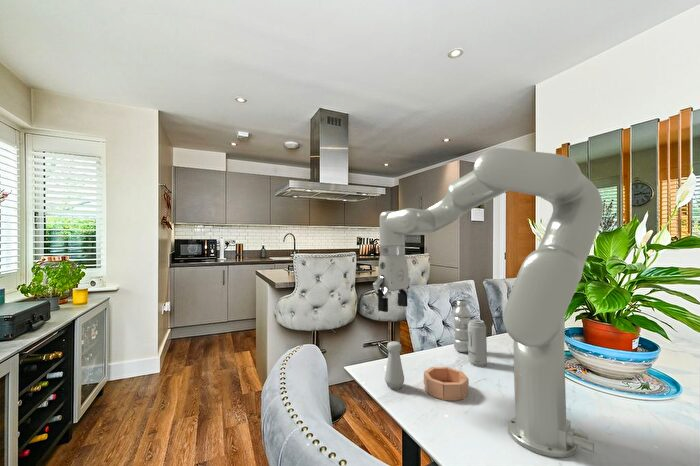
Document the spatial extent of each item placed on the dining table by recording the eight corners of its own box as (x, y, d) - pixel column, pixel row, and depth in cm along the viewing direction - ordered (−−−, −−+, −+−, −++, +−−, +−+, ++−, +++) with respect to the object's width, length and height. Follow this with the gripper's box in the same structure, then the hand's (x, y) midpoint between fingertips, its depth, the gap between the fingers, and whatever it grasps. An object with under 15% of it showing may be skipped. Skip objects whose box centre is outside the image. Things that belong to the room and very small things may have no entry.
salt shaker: (404, 392, 86) (403, 346, 86) (384, 390, 87) (383, 345, 87) (404, 382, 92) (404, 340, 92) (385, 381, 93) (385, 339, 93)
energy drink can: (465, 360, 108) (464, 318, 109) (482, 360, 109) (481, 318, 109) (473, 367, 102) (472, 323, 103) (490, 367, 103) (489, 323, 103)
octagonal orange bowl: (474, 389, 87) (474, 374, 87) (456, 406, 78) (455, 389, 78) (437, 377, 95) (437, 363, 95) (416, 390, 87) (416, 375, 87)
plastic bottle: (474, 354, 114) (473, 301, 115) (457, 354, 114) (455, 302, 115) (468, 348, 121) (467, 298, 121) (451, 348, 121) (450, 298, 122)
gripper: (384, 252, 82) (385, 315, 81) (418, 251, 94) (419, 305, 94) (364, 252, 87) (364, 311, 87) (399, 251, 100) (399, 302, 99)
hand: (393, 308), depth 90 cm, fingers open, 9 cm apart
